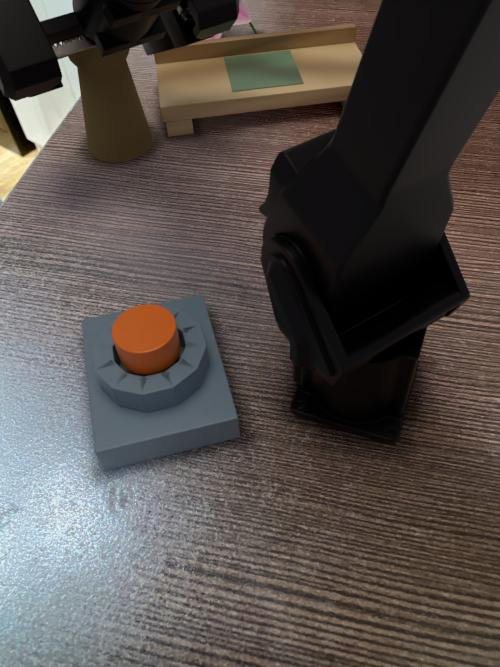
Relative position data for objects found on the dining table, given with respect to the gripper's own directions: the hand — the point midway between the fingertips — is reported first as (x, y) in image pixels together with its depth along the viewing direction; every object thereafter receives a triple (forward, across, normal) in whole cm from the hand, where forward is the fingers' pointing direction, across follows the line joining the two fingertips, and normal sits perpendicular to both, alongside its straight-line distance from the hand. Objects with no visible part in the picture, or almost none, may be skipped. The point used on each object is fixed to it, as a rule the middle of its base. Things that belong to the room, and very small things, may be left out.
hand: (97, 65), depth 51 cm
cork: (+4, 0, +6) cm, 7 cm away
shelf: (+3, -15, +7) cm, 17 cm away
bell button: (-17, +10, +22) cm, 29 cm away
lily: (+12, -18, -2) cm, 22 cm away
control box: (-15, +10, +24) cm, 30 cm away
